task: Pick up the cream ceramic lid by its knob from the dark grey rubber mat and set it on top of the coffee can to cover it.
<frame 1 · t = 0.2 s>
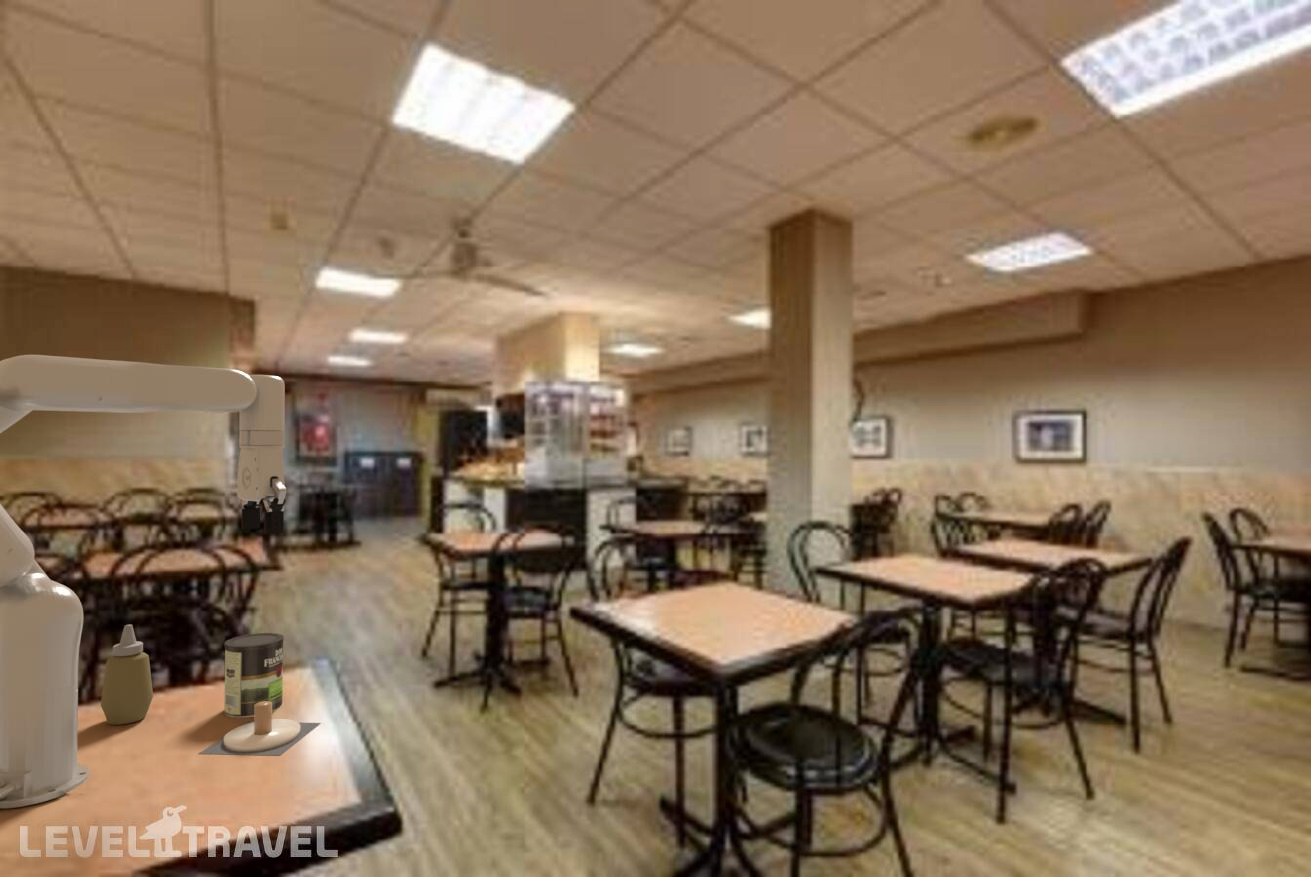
hand: (262, 530, 136), 36 cm above the table, tool pointing down, fingers open, 9 cm apart
lid: (262, 737, 128), point 1 cm above the table, touching mat
coffee can: (253, 711, 143), on the table
squeeze bottle: (127, 721, 137), on the table
mat: (262, 740, 128), on the table
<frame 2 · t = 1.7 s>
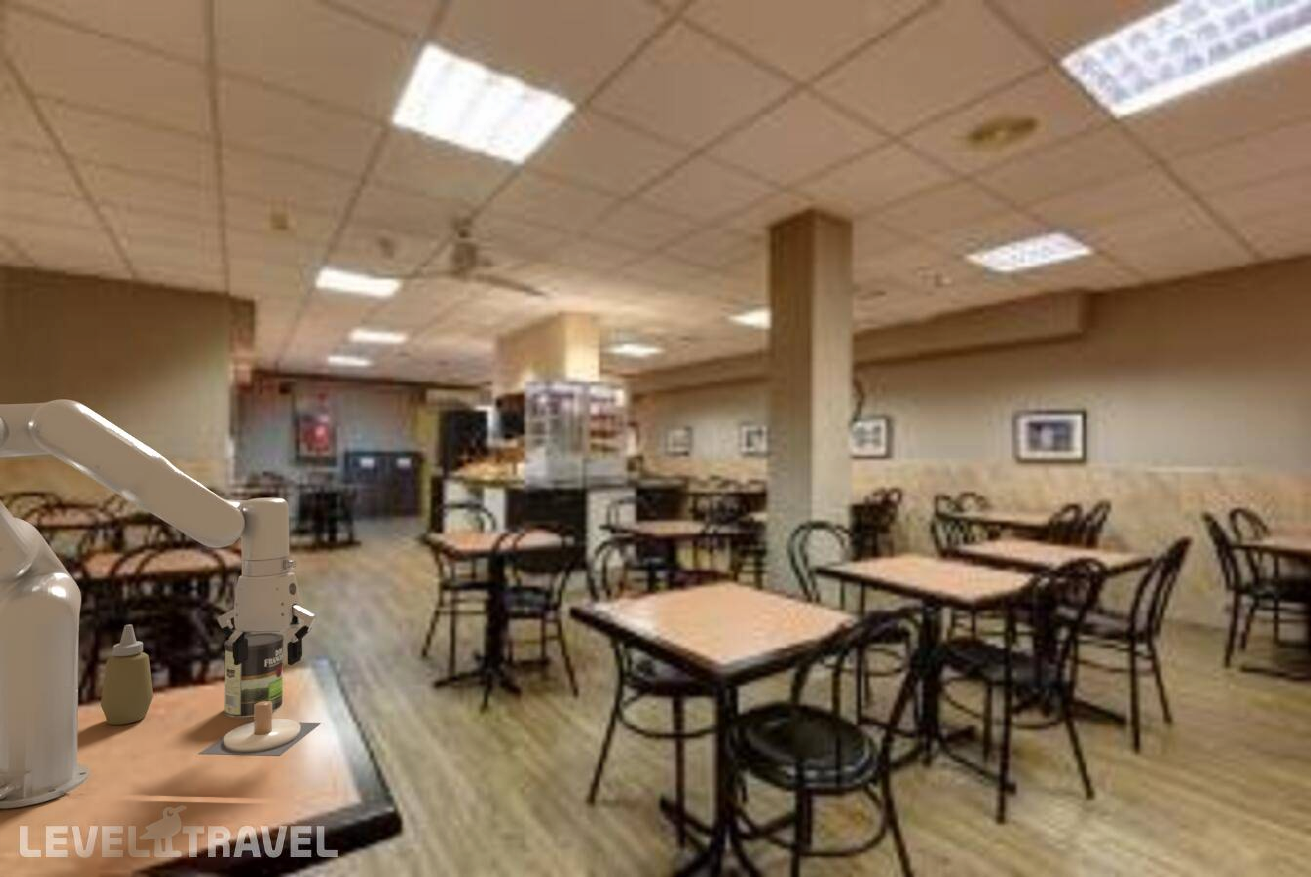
hand: (267, 662, 129), 14 cm above the table, tool pointing down, fingers open, 9 cm apart
nothing on the table moved.
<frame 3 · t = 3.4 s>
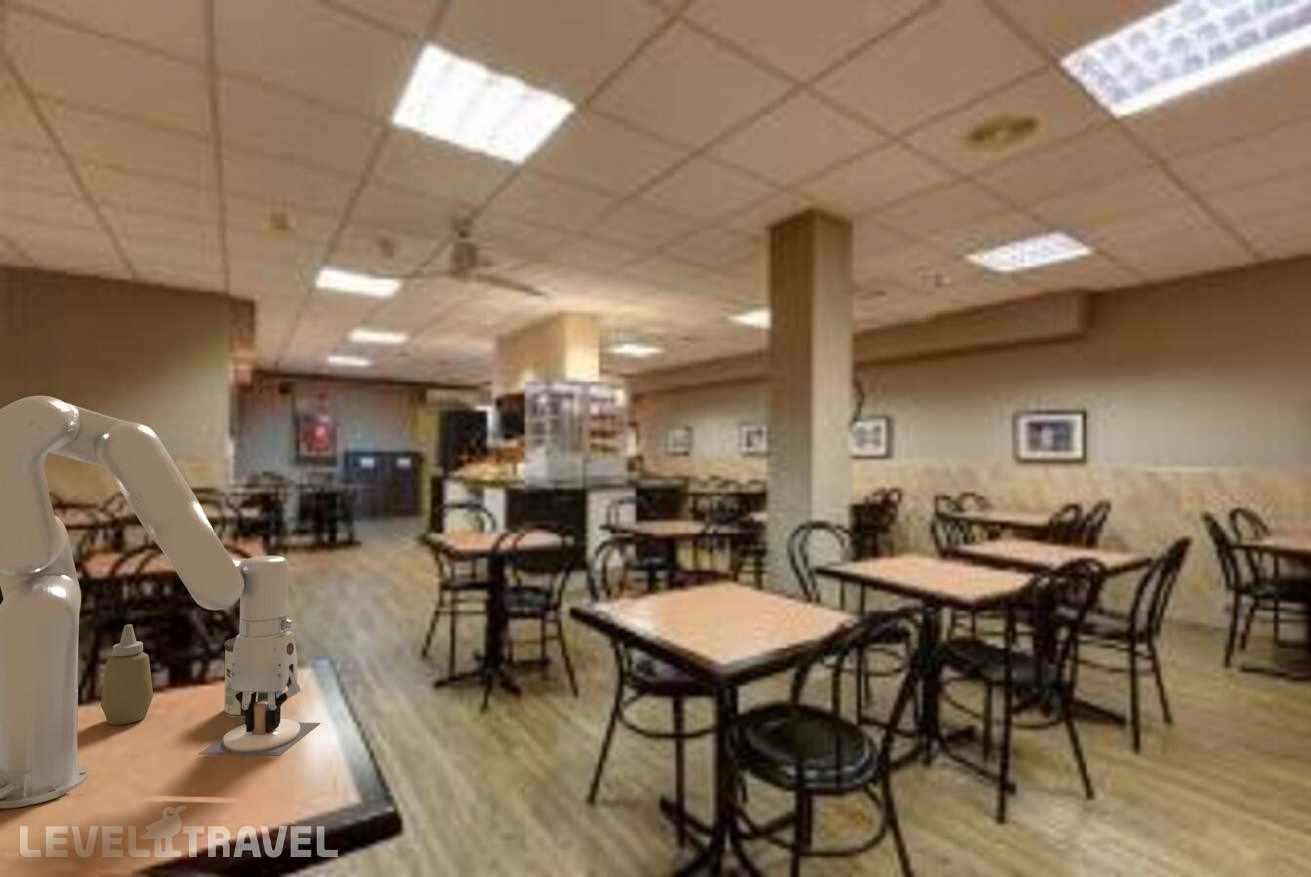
hand: (262, 728, 128), 2 cm above the table, tool pointing down, fingers closed on lid, 2 cm apart
lid: (262, 737, 128), point 1 cm above the table, touching gripper, mat
everything else where it was.
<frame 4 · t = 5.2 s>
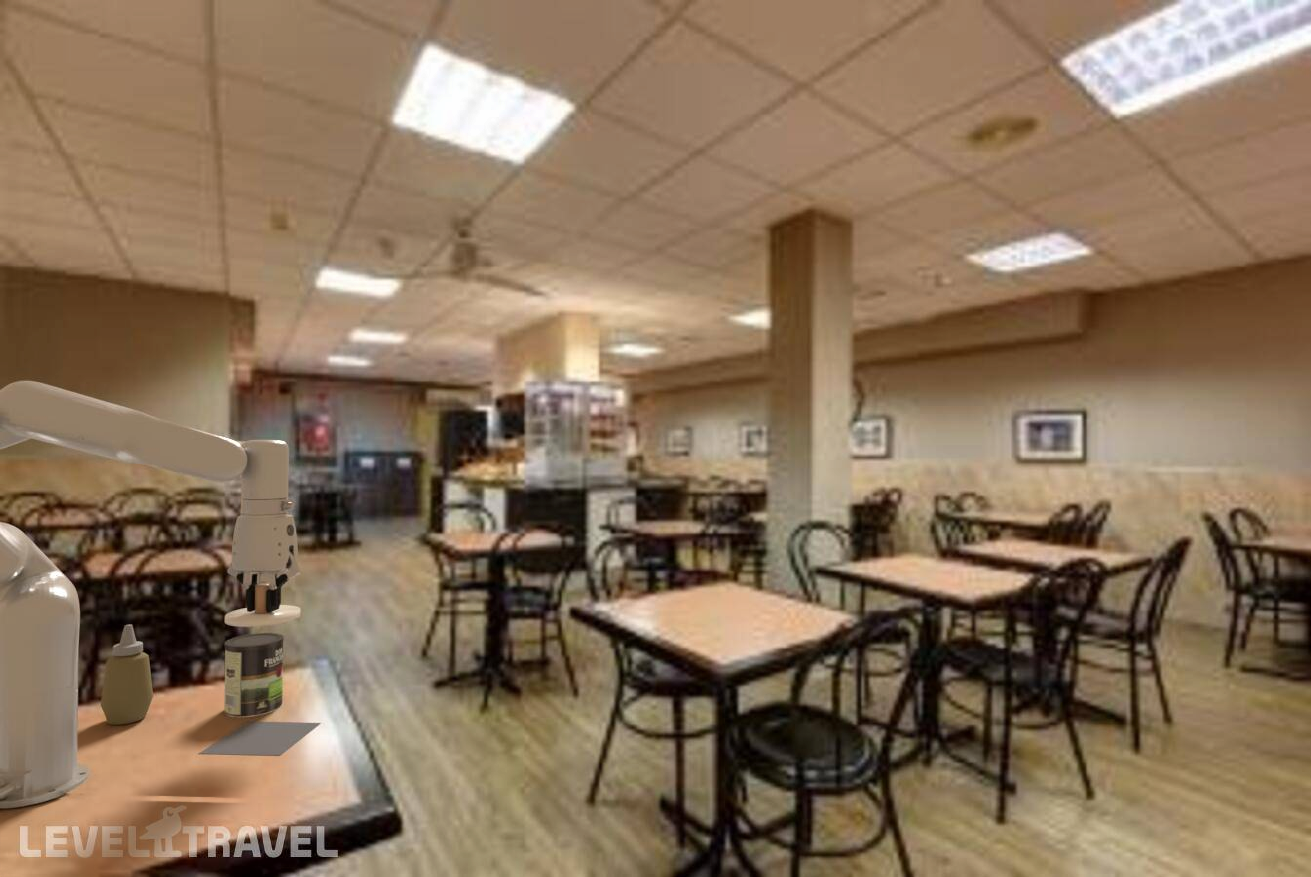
hand: (263, 609, 130), 23 cm above the table, tool pointing down, fingers closed on lid, 2 cm apart
lid: (263, 618, 130), point 22 cm above the table, touching gripper
everything else where it was.
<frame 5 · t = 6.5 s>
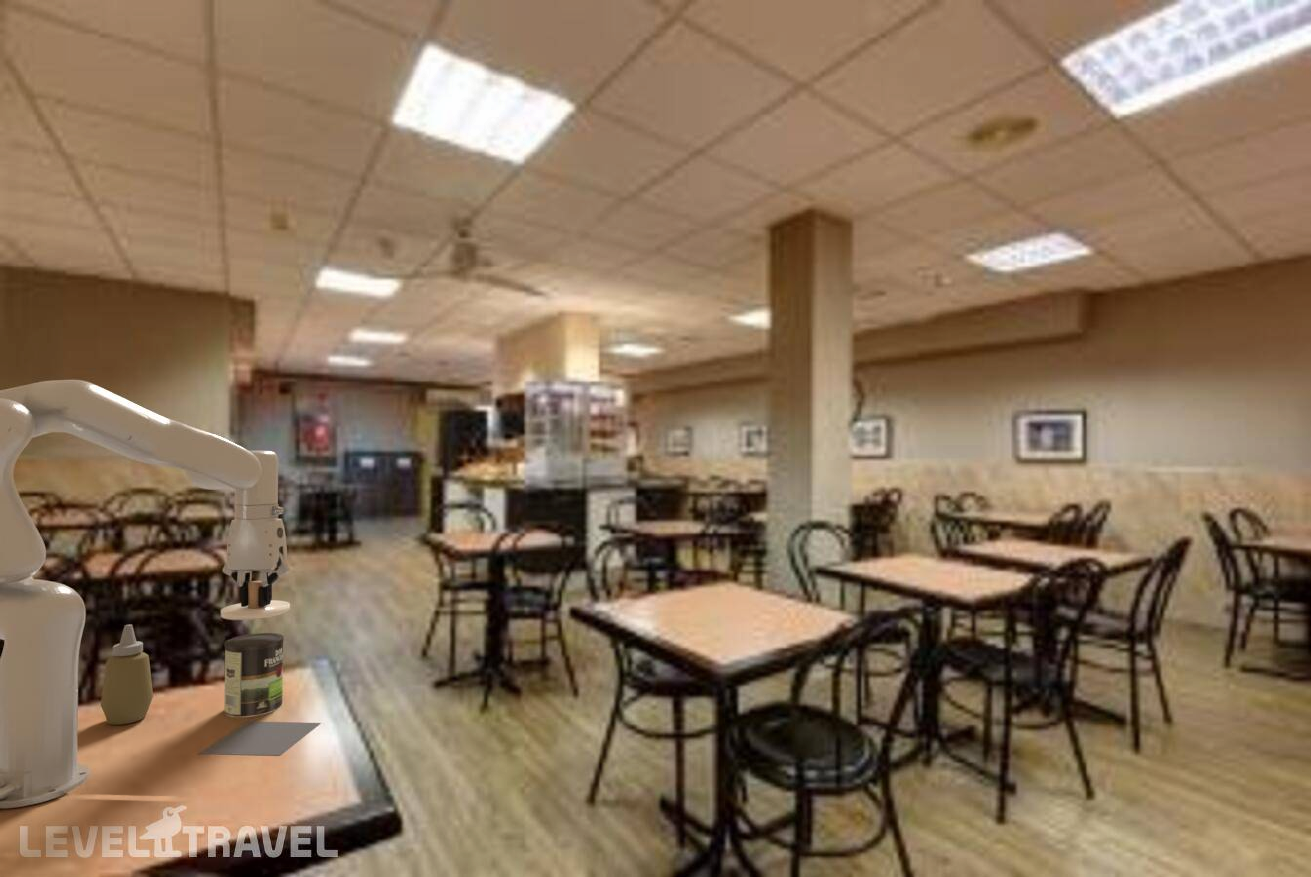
hand: (255, 604, 143), 21 cm above the table, tool pointing down, fingers closed on lid, 2 cm apart
lid: (256, 612, 143), point 19 cm above the table, touching gripper
everything else where it was.
when the fingers open (17 cm above the table, at t = 7.3 s): lid drops 2 cm, resting on coffee can.
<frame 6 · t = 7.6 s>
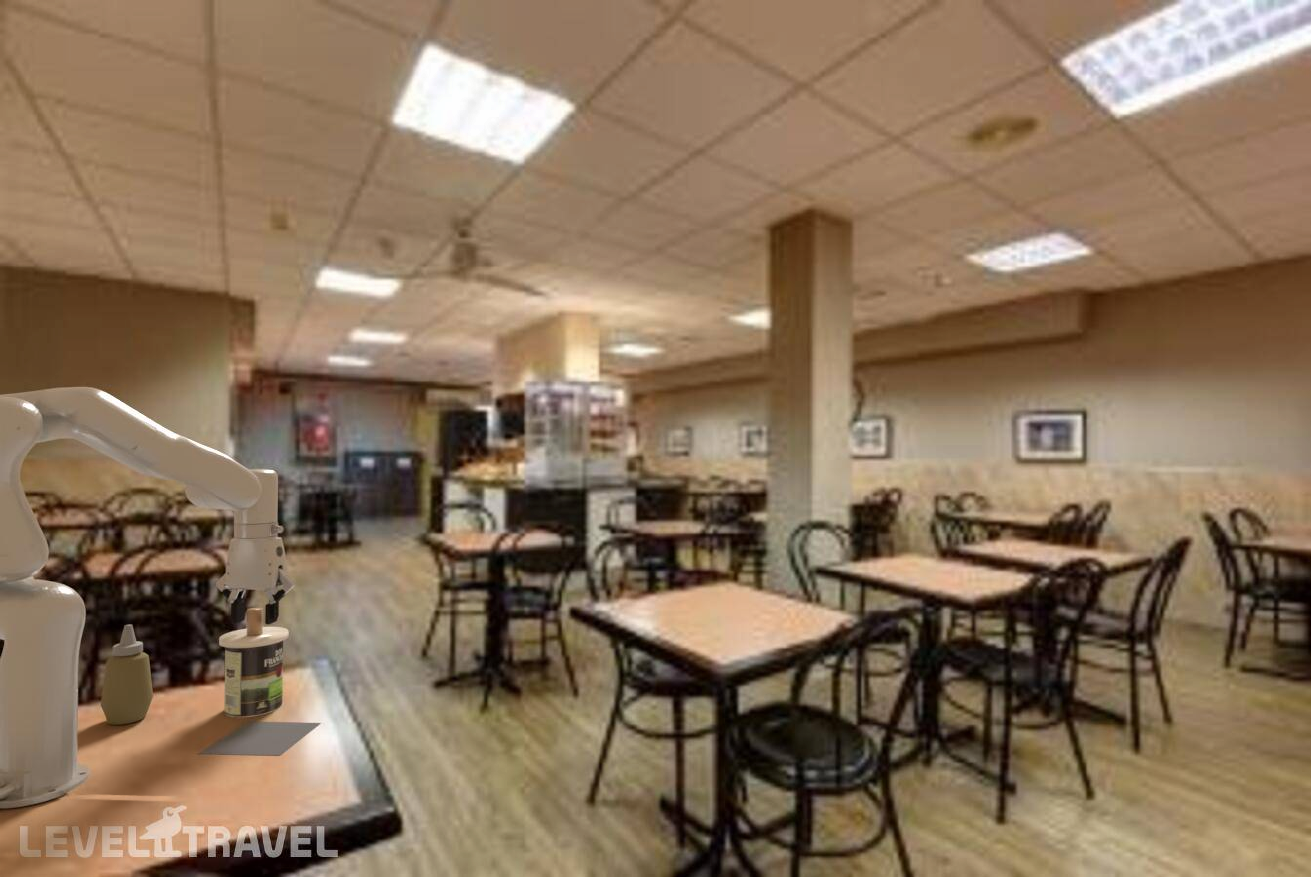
hand: (254, 621, 143), 18 cm above the table, tool pointing down, fingers open, 6 cm apart
lid: (254, 639, 143), point 14 cm above the table, touching coffee can
coffee can: (253, 711, 143), on the table, touching lid
everything else where it was.
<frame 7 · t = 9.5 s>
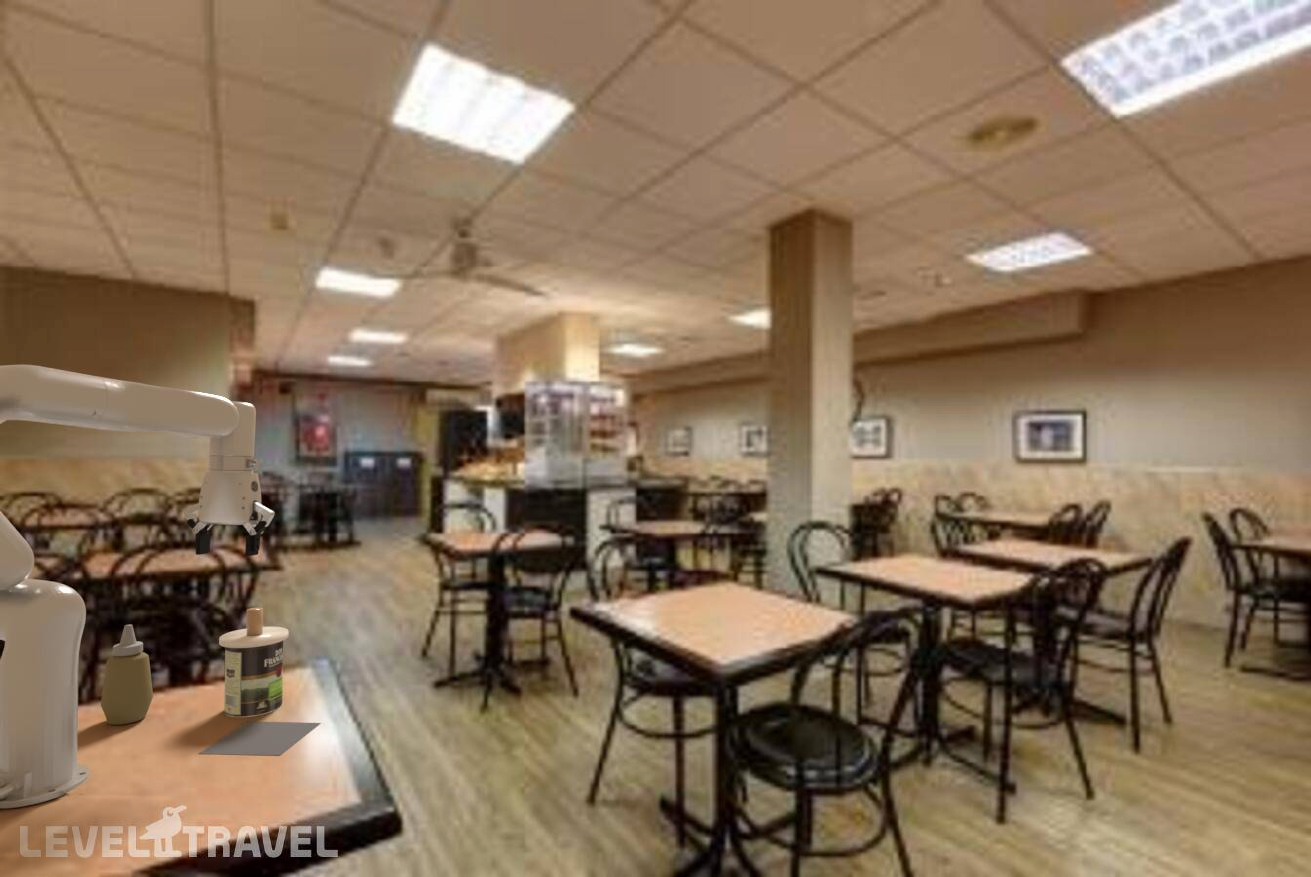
hand: (227, 554, 138), 32 cm above the table, tool pointing down, fingers open, 9 cm apart
nothing on the table moved.
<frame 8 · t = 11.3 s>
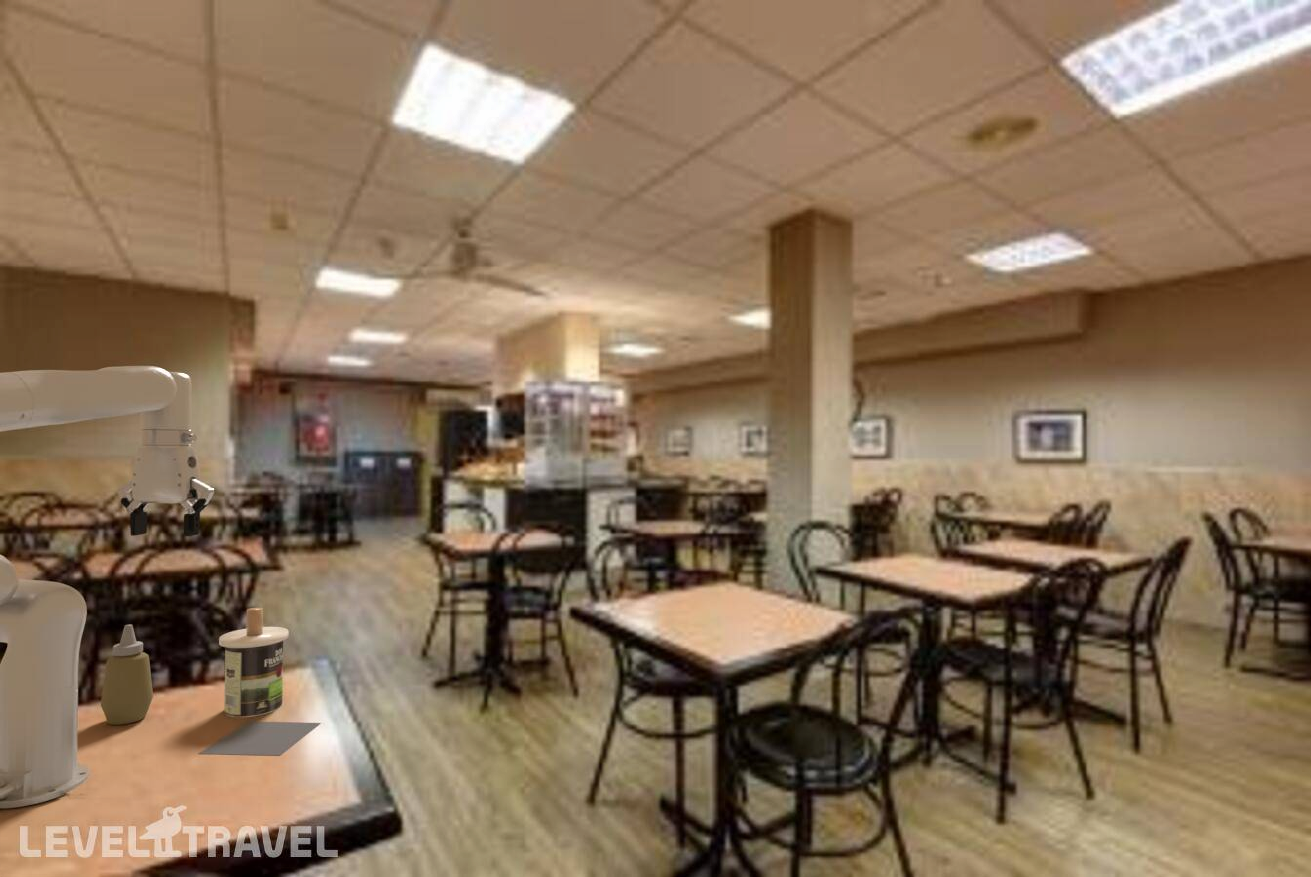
hand: (165, 535, 130), 36 cm above the table, tool pointing down, fingers open, 9 cm apart
nothing on the table moved.
at the end: lid 0.0 cm off-centre on the coffee can, point 14.3 cm above the coffee can's base; lid tilted 0°; the gripper is holding nothing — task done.
